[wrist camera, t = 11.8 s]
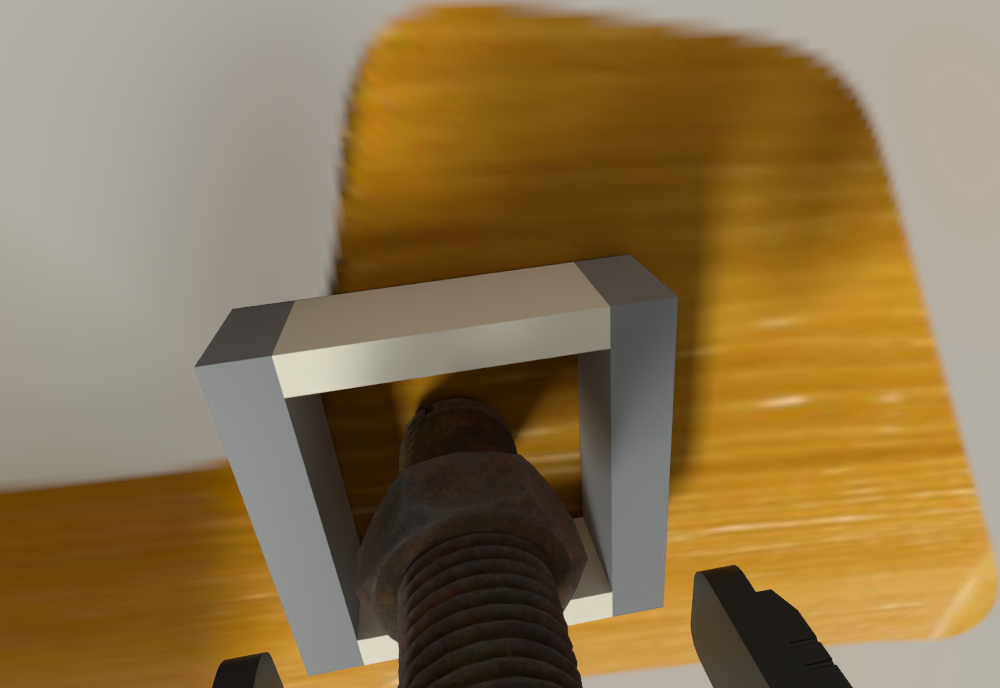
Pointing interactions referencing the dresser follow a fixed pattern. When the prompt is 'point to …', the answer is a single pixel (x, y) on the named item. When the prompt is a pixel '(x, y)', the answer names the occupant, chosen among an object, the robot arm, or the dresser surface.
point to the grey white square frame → (433, 351)
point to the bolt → (471, 559)
